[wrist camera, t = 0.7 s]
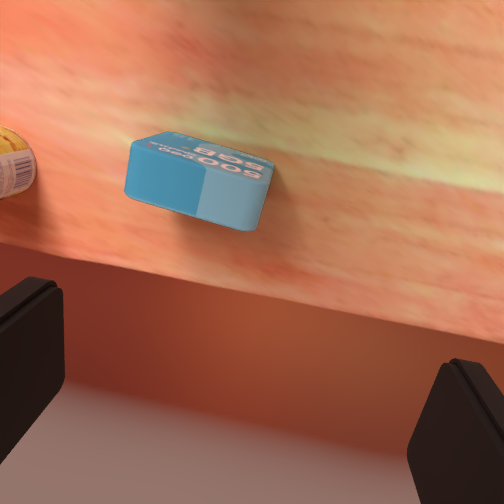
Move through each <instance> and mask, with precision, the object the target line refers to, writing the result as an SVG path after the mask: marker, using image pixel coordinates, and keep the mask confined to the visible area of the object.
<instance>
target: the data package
mask: <svg viewBox="0 0 504 504" xmlns="http://www.w3.org/2000/svg"><path fill="white" fill-rule="evenodd" d="M274 167H275V165H274V163H272V162H271V161H269V160H266V159H264V158H261V157H257V156H254V155H250V154H247V153H244V152H240V151H237V150H233V149H230V148H227V147H223V146H220V145H217V144H213V143H210V142H206V141H203V140H200V139H196V138H193V137H190V136H186V135H183V134H179V133H174V132H164V133H161V134H158V135H154V136H151V137H147V138H144V139H141V140H137V141H134V142H132V144H131V149H130V156H129V162H128V169H127V176H126V183H125V189H124V192H125V194H126V195H127V196H128V197H130V198H132V199H134V200H137V201H140V202H143V203H147V204H150V205H154V206H157V207H160V208H164V209H167V210H171V211H174V212H177V213H181V214H184V215H188V216H191V217H194V218H198V219H201V220H205V221H208V222H211V223H215V224H218V225H222V226H225V227H229V228H232V229H235V230H239V231H253V230H255V229H256V228H257V226H258V222H259V219H260V215H261V212H262V209H263V205H264V202H265V198H266V195H267V192H268V188H269V185H270V181H271V178H272V174H273V171H274Z"/></svg>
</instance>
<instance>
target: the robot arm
mask: <svg viewBox="0 0 504 504" xmlns="http://www.w3.org/2000/svg"><path fill="white" fill-rule="evenodd" d="M64 378H65V363H64V319H63V292H62V289H60V288H57V284H56V282H54V281H52V280H47V279H42V278H36V277H28V278H26V279H24V280H23V281H21V282H20V283H18V284H17V285H15V286H14V287H12V288H11V289H9V290H8V291H6V292H5V293H3V294H2V295H0V464H1V463H2V462H3V460H4V459H5V458H6V457H7V455H8V454H9V453H10V452H11V450H12V449H13V448H14V447H15V445H16V444H17V443H18V442H19V440H20V439H21V438H22V437H23V435H24V434H25V433H26V432H27V430H28V429H29V428H30V427H31V425H32V424H33V423H34V422H35V420H36V419H37V418H38V417H39V415H40V414H41V413H42V412H43V410H44V409H45V408H46V407H47V405H48V404H49V403H50V402H51V401H52V399H53V398H54V397H55V395H56V394H57V393H58V392H59V390H60V389H61V387H62V385H63V382H64ZM407 459H408V463H409V467H410V470H411V473H412V476H413V479H414V483H415V486H416V489H417V492H418V496H419V499H420V502H421V504H504V396H503V394H502V393H501V391H500V390H499V388H498V387H497V385H496V384H495V383H494V381H493V380H492V378H491V377H490V376H489V374H488V373H487V371H486V370H485V368H484V367H483V366H482V365H481V364H480V363H477V362H472V361H466V360H461V359H456V358H454V359H452V360H451V361H450V362H449V363H443V364H442V366H441V367H440V370H439V372H438V374H437V377H436V379H435V382H434V384H433V386H432V389H431V391H430V394H429V396H428V399H427V401H426V403H425V406H424V408H423V411H422V413H421V415H420V418H419V420H418V423H417V425H416V427H415V430H414V432H413V435H412V437H411V439H410V442H409V444H408V448H407Z"/></svg>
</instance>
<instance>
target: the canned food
mask: <svg viewBox="0 0 504 504" xmlns="http://www.w3.org/2000/svg"><path fill="white" fill-rule="evenodd" d="M35 176H36V161H35V157H34V154H33V152H32V149H31V148H30V146H29V145H28V143H27V142H26V141H25V140H24V139H23V138H22V137H21V136H20V135H19V134H18V133H16V132H15V131H13V130H12V129H10V128H7V127H4V126H1V125H0V200H2V199H5V198H8V197H10V196H13V195H16V194H19V193H21V192H23V191H25V190H26V189H28V188H29V187H30V185H31V184H32V183H33V181H34V178H35Z"/></svg>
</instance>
